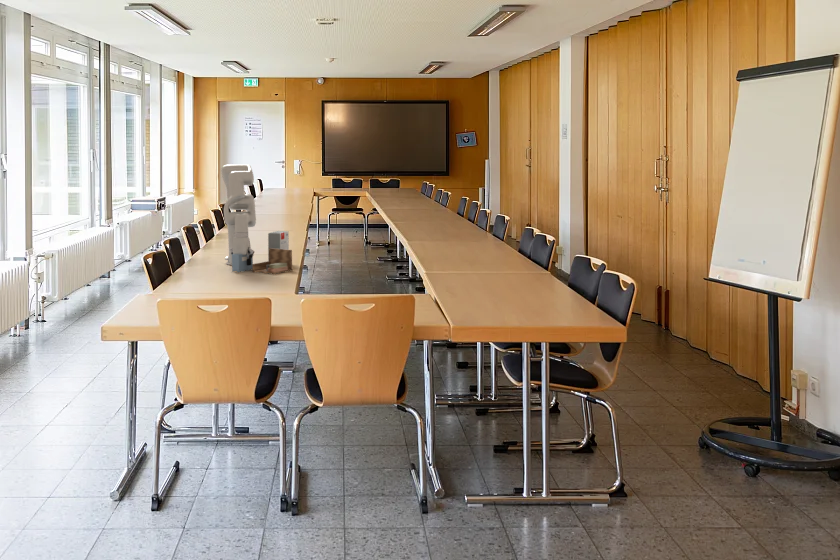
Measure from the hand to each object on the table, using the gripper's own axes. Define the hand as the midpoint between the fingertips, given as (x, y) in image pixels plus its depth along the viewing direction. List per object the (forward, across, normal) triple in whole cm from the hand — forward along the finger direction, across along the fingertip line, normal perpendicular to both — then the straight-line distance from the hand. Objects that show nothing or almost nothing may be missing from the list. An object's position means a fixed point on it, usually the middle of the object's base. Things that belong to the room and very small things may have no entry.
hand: (242, 264), depth 505 cm
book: (+3, 0, 0) cm, 3 cm away
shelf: (+3, +17, +6) cm, 18 cm away
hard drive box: (+4, +4, +28) cm, 29 cm away
